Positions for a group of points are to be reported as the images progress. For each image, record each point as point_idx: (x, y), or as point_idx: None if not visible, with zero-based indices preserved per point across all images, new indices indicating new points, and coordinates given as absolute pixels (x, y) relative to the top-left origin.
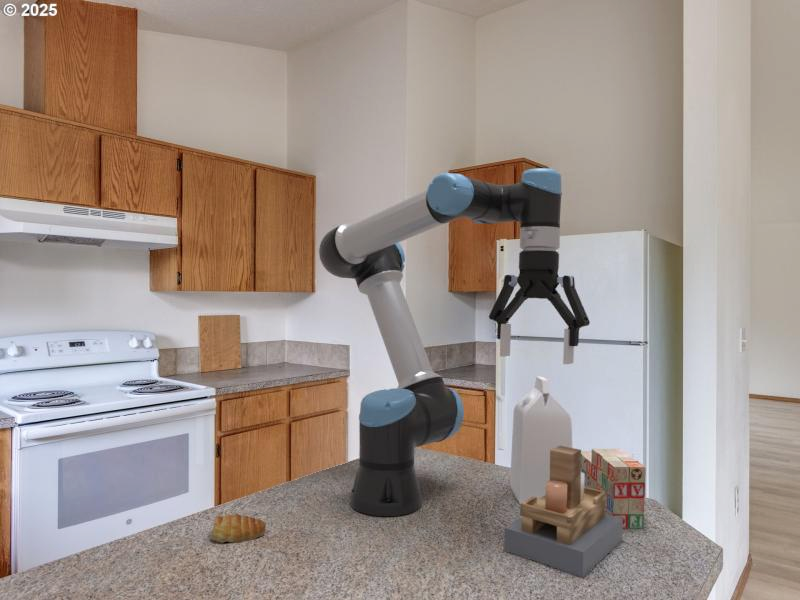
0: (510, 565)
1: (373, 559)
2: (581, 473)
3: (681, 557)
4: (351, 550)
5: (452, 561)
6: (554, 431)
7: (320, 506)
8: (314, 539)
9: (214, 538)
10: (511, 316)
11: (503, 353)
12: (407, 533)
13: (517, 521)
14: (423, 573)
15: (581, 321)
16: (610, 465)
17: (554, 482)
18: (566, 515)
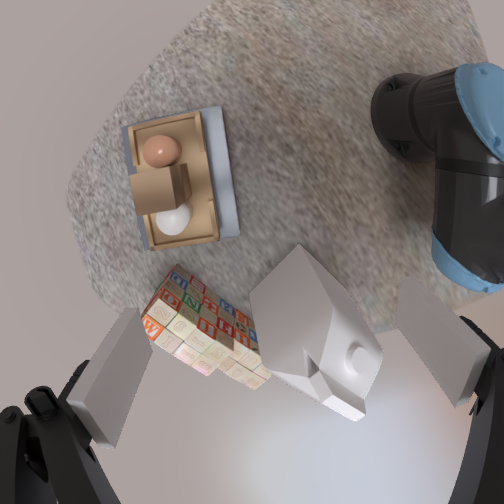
0: (195, 88)
1: (303, 4)
2: (163, 226)
3: (99, 251)
4: (333, 4)
5: (245, 50)
6: (281, 331)
7: (440, 66)
8: (375, 3)
9: None
10: (470, 431)
11: (406, 286)
12: (331, 65)
13: (222, 134)
14: (246, 15)
15: (4, 419)
16: (169, 304)
17: (163, 153)
18: (134, 128)
